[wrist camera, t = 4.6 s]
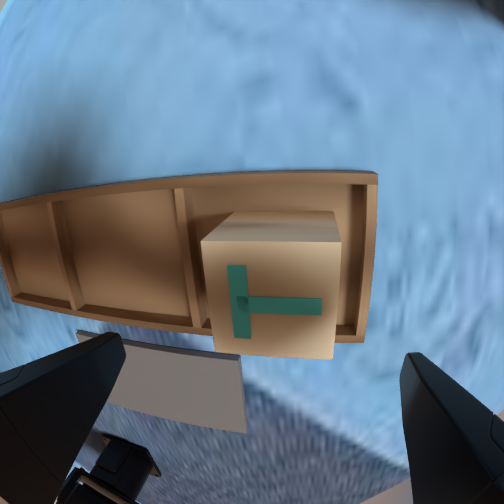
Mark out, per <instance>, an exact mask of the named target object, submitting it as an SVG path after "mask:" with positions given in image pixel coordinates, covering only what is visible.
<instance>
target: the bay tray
mask: <svg viewBox="0 0 504 504" xmlns="http://www.w3.org/2000/svg"><path fill="white" fill-rule="evenodd" d="M377 200H378V174H377V173H375V172H373V171H346V170H285V171H251V172H230V173H213V174H199V175H186V176H174V177H163V178H153V179H144V180H135V181H127V182H118V183H111V184H103V185H96V186H89V187H83V188H76V189H70V190H64V191H58V192H52V193H47V194H41V195H36V196H31V197H26V198H21V199H16V200H11V201H7V202H2V203H0V263H1V266H2V270H3V273H4V277H5V280H6V283H7V286H8V290H9V293H10V296H11V299H12V301H13V302H16V303H20V304H24V305H28V306H32V307H37V308H41V309H45V310H50V311H54V312H59V313H64V314H69V315H73V316H79V317H84V318H89V319H94V320H100V321H105V322H111V323H117V324H123V325H130V326H136V327H143V328H150V329H157V330H165V331H172V332H181V333H189V334H198V335H208V336H213V334H212V327H211V320H210V313H209V306H208V299H207V291H206V283H205V275H204V267H203V259H202V250H201V240H202V239H204V238H205V237H206V236H207V235H208V234H209V233H210V232H212V231H213V230H214V229H215V228H216V227H217V226H219V225H220V224H221V223H222V222H223V221H224V220H226V219H227V218H228V217H229V216H230V215H231V214H233V213H234V212H244V211H334V215H335V219H336V223H337V226H338V230H339V234H340V238H341V265H340V283H339V298H338V310H337V322H336V333H335V343H364V338H365V332H366V325H367V318H368V311H369V303H370V295H371V286H372V277H373V267H374V255H375V242H376V225H377Z"/></svg>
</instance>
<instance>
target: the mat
mask: <svg viewBox="0 0 504 504" xmlns="http://www.w3.org/2000/svg"><path fill="white" fill-rule="evenodd" d="M99 335H100V334H95V333H91V332H86V331H82V330H79V331H78V332H77V333H76V336H77V339H78V341H79V343H81V342H84V341H86V340H89V339H91V338H94V337H96V336H99ZM122 342H123V345H124V348H125V351H126V360H125V362H124V364H123V366H122V369H121V371H120V373H119V376H118V378H117V380H116V383H115V385H114V387H113V389H112V392H111V394H110V396H109V398H108V399H107V401H106V402H108V403H112V404H115V405H118V406H121V407H124V408H128V409H131V410H135V411H138V412H142V413H145V414H149V415H153V416H157V417H161V418H165V419H169V420H174V421H178V422H183V423H187V424H192V425H197V426H203V427H208V428H214V429H220V430H226V431H233V432H240V433H247V430H248V422H247V413H246V404H245V395H244V386H243V377H242V367H241V357H240V355H231V354H222V353H212V352H204V351H196V350H188V349H180V348H173V347H167V346H160V345H154V344H148V343H142V342H136V341H130V340H125V339H122Z"/></svg>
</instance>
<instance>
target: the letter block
mask: <svg viewBox="0 0 504 504" xmlns="http://www.w3.org/2000/svg"><path fill="white" fill-rule="evenodd" d="M201 250H202V259H203V267H204V275H205V283H206V291H207V299H208V306H209V313H210V320H211V327H212V334H213V341H214V348H215V352H221V353H231V354H242V355H254V356H268V357H285V358H308V359H333V352H334V343H335V333H336V322H337V310H338V298H339V283H340V265H341V238H340V234H339V230H338V226H337V223H336V219H335V215H334V211H244V212H234V213H233V214H231V215H230V216H229V217H228V218H227V219H226V220H224V221H223V222H222V223H221V224H220V225H219V226H217V227H216V228H215V229H214V230H213V231H212V232H210V233H209V234H208V235H207V236H206V237H205V238H204V239H202V240H201Z"/></svg>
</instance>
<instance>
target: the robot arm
mask: <svg viewBox="0 0 504 504" xmlns="http://www.w3.org/2000/svg"><path fill="white" fill-rule="evenodd" d="M125 360H126V351H125V348H124V345H123V342H122V338H121V336H120V335H119V334H118V333H114V332H106V333H104V334H101V335H99V336H96V337H94V338H91V339H89V340H86V341H84V342H81V343H79V344H76V345H73V346H71V347H68V348H66V349H63V350H61V351H58V352H56V353H53V354H50V355H48V356H45V357H43V358H40V359H37V360H35V361H32V362H30V363H27V364H26V365H22V366H19V367H16V368H13V369H11V370H8V371H5V372H2V373H0V504H54V502H55V500H56V498H57V496H58V498H57V500H58V501H57V502H56V504H139V503H137V502H135V500H136V498H137V497H138V495H139V493H140V491H141V489H142V487H143V485H144V483H145V481H146V479H147V478H148V476H149V474H150V475H153V476H156V477H161V473H160V471H159V469H158V468H157V466H156V464H155V462H154V461H153V459H152V457H151V455H150V453H149V452H148V450H146V449H144V448H142V447H138V446H135V445H132V444H129V443H126V442H124V441H121V440H118V439H115V438H112V437H110V436H107V435H105V434H103V435H102V436H101V438H102V440H103V441H104V443H105V444H106V447H105V449H104V450H103V452H102V453H101V455H100V456H99V458H98V459H97V461H96V464H95V466H94V467H93V469H92V470H91V472H90V473H88V472H86V471H85V470H84V469H83V468H82V467H81V468H80V469H79V468H76V467H74V469H73V470H72V472H71V473H70V475H69V476H68V477H67V475H68V473H69V471H70V469H71V467H72V465H73V463H74V461H75V459H76V457H77V455H78V453H79V451H80V449H81V447H82V446H83V444H84V442H85V440H86V438H87V436H88V434H89V432H90V430H91V429H92V427H93V425H94V423H95V421H96V419H97V418H98V416H99V414H100V412H101V410H102V408H103V407H104V405H105V403H106V401H107V399H108V398H109V396H110V394H111V392H112V389H113V387H114V385H115V383H116V380H117V378H118V376H119V373H120V371H121V369H122V366H123V364H124V362H125ZM400 392H401V406H402V421H403V429H404V435H405V441H406V448H407V454H408V461H409V469H410V476H411V485H412V494H413V504H504V421H502V420H501V419H500V418H499V417H498V416H497V415H495V414H494V415H493V412H492V411H491V410H489V409H488V408H487V407H486V406H485V405H483V404H482V403H481V402H480V401H479V400H478V399H476V398H475V397H474V396H473V395H472V394H470V393H469V392H468V391H467V390H466V389H464V388H463V387H462V386H461V385H459V384H458V383H457V382H456V381H455V380H453V379H452V378H451V377H450V376H449V375H447V374H446V373H445V372H444V371H442V370H441V369H440V368H439V367H438V366H436V365H435V364H434V363H433V362H431V361H430V360H429V359H428V358H426V357H425V356H424V355H423V354H421V353H420V352H413V353H407V354H406V356H405V359H404V362H403V366H402V369H401V373H400ZM66 477H67V478H66ZM65 479H66V480H65ZM80 481H81V482H82V483H84V484H83V485H81V484H80V483H79V482H80Z"/></svg>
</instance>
